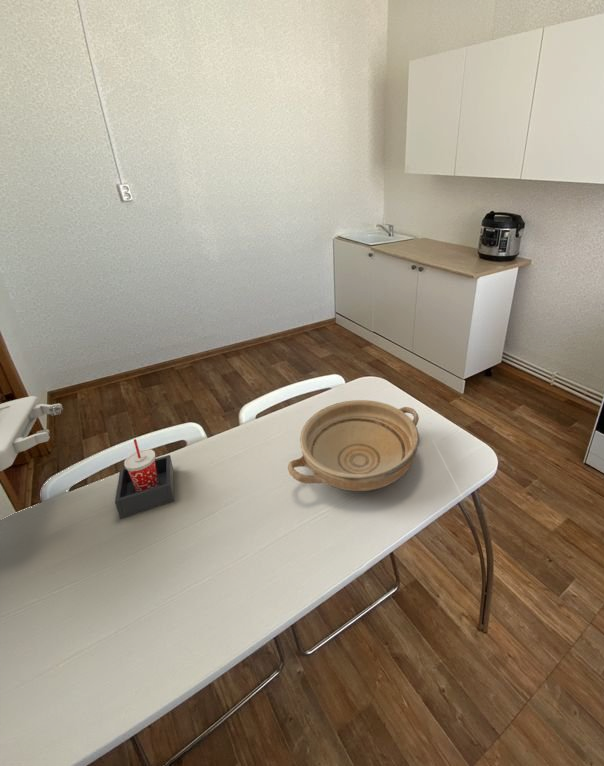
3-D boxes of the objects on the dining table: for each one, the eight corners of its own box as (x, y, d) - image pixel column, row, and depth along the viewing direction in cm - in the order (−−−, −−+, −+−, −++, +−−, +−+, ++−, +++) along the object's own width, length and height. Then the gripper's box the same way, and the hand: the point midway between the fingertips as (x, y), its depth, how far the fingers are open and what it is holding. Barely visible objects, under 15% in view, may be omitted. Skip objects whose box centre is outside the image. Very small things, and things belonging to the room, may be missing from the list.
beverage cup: (127, 494, 87) (112, 444, 82) (151, 476, 92) (138, 428, 87) (145, 503, 85) (130, 452, 80) (168, 484, 90) (156, 435, 85)
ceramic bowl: (326, 550, 75) (324, 511, 71) (266, 465, 96) (262, 433, 93) (453, 466, 95) (456, 432, 92) (380, 412, 117) (380, 383, 113)
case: (120, 519, 82) (114, 501, 80) (125, 485, 91) (120, 468, 89) (174, 501, 86) (170, 484, 84) (173, 470, 95) (170, 454, 93)
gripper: (-8, 424, 80) (71, 407, 86) (-57, 493, 63) (46, 466, 68) (-19, 398, 78) (63, 382, 83) (-73, 463, 60) (35, 437, 66)
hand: (55, 420), depth 76 cm, fingers open, 8 cm apart
